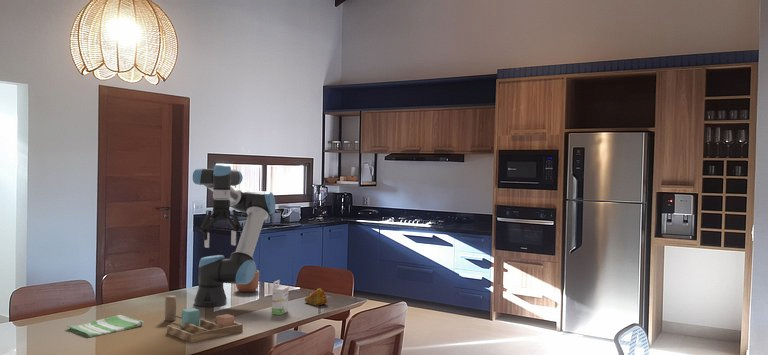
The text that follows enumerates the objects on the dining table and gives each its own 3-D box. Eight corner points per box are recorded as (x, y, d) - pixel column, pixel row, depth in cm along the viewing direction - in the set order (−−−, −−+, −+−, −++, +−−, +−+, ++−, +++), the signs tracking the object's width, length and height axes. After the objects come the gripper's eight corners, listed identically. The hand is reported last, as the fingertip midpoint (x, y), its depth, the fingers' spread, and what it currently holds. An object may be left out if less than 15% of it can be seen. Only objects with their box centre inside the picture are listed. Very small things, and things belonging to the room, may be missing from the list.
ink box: (281, 315, 267) (282, 283, 267) (271, 314, 268) (272, 282, 268) (288, 311, 275) (289, 279, 275) (278, 310, 276) (279, 279, 276)
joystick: (162, 319, 252) (162, 296, 252) (173, 317, 256) (173, 295, 256) (188, 329, 239) (188, 304, 239) (199, 326, 242) (199, 302, 242)
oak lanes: (166, 333, 232) (167, 325, 232) (217, 323, 250) (217, 316, 249) (191, 342, 220) (191, 334, 220) (242, 331, 238) (242, 324, 238)
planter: (235, 289, 322) (235, 269, 322) (258, 288, 325) (258, 269, 325) (235, 293, 310) (235, 273, 310) (259, 293, 313) (259, 272, 313)
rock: (308, 313, 289) (300, 296, 294) (319, 313, 296) (312, 296, 301) (322, 300, 285) (314, 283, 290) (333, 300, 291) (325, 283, 297)
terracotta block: (216, 330, 238) (216, 316, 238) (226, 328, 242) (227, 314, 242) (223, 333, 235) (223, 318, 235) (234, 330, 239) (234, 316, 239)
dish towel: (65, 330, 233) (65, 323, 233) (121, 320, 252) (121, 313, 252) (88, 339, 223) (89, 332, 223) (145, 327, 242) (145, 320, 242)
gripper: (200, 200, 252) (199, 249, 253) (249, 199, 271) (248, 245, 271) (191, 199, 257) (190, 247, 258) (240, 198, 276) (239, 243, 276)
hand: (220, 246), depth 264 cm, fingers open, 13 cm apart
